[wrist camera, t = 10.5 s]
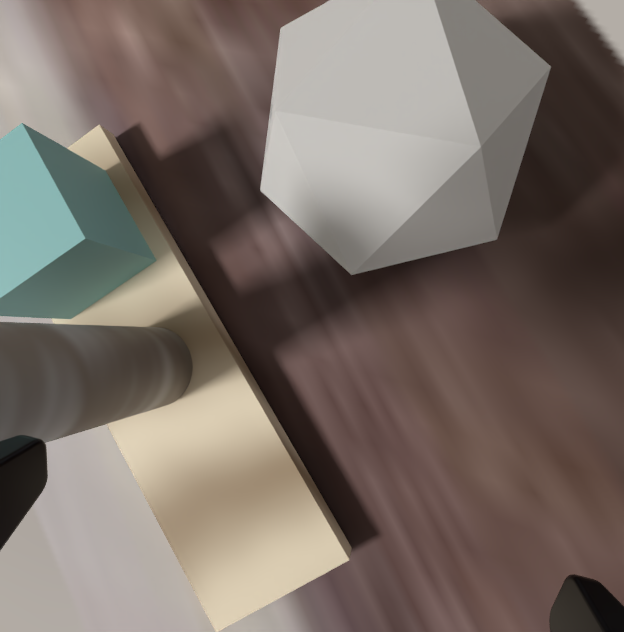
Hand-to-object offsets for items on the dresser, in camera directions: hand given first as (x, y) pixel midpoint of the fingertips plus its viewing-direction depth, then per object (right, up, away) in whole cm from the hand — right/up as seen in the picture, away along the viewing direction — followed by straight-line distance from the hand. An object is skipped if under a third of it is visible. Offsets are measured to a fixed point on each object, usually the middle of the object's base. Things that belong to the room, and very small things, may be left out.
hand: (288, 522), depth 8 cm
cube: (-9, +6, +12) cm, 16 cm away
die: (+4, +9, +11) cm, 15 cm away
